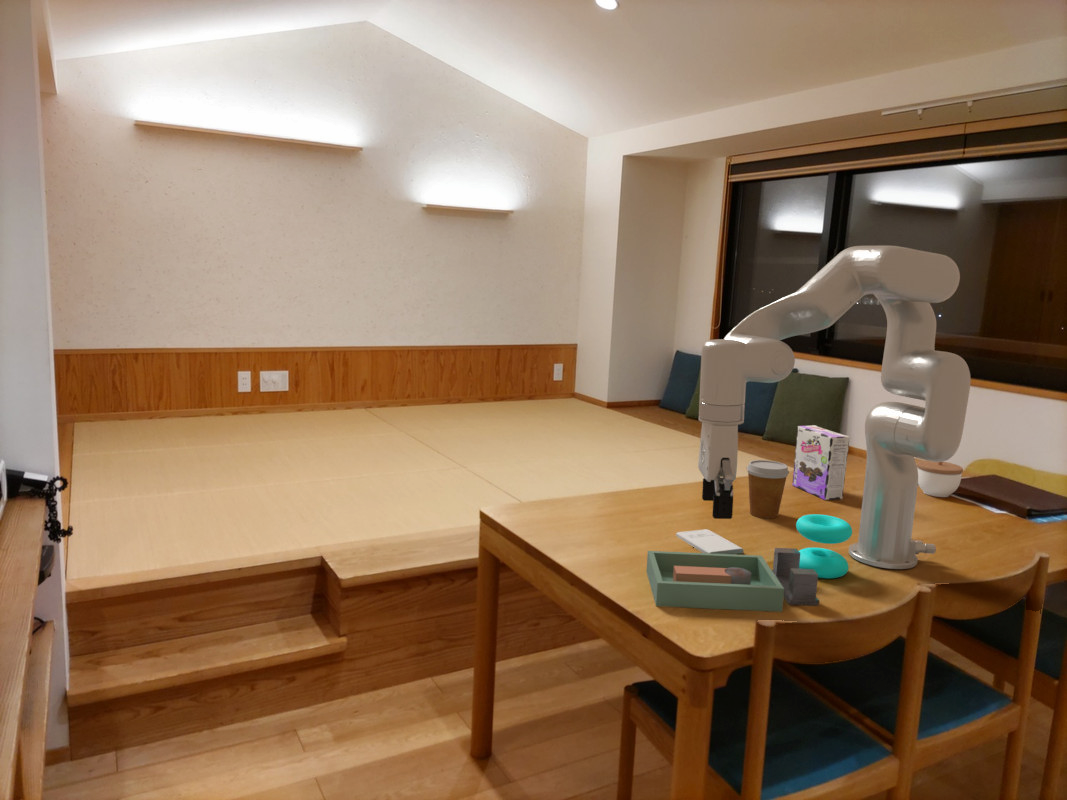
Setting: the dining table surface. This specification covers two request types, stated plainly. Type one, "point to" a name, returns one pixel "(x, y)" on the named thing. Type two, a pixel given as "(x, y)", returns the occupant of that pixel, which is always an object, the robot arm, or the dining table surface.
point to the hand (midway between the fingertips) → (716, 508)
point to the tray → (754, 597)
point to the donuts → (828, 533)
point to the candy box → (820, 462)
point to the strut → (712, 575)
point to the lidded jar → (938, 477)
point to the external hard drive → (709, 542)
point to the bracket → (795, 578)
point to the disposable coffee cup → (766, 487)
